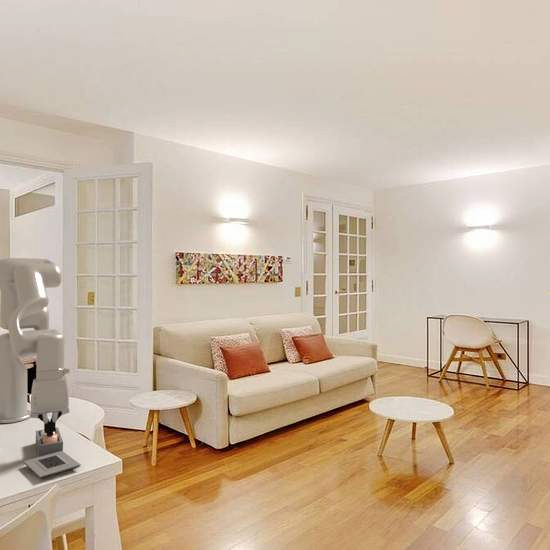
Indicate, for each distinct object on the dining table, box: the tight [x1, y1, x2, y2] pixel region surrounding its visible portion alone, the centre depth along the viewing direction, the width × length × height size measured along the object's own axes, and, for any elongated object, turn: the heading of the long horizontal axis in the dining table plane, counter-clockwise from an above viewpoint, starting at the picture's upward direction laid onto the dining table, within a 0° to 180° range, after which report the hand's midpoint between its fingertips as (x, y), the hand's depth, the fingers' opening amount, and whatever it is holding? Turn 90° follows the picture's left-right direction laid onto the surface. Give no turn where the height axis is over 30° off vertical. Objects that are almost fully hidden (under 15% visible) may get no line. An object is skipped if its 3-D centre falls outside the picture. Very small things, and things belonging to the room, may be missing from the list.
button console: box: [35, 426, 64, 457], centre depth 141 cm, size 14×6×4 cm, turn 31°
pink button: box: [43, 433, 57, 444], centre depth 138 cm, size 4×4×4 cm
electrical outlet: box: [23, 450, 81, 480], centre depth 127 cm, size 13×10×2 cm
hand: (49, 434), depth 138 cm, fingers closed
